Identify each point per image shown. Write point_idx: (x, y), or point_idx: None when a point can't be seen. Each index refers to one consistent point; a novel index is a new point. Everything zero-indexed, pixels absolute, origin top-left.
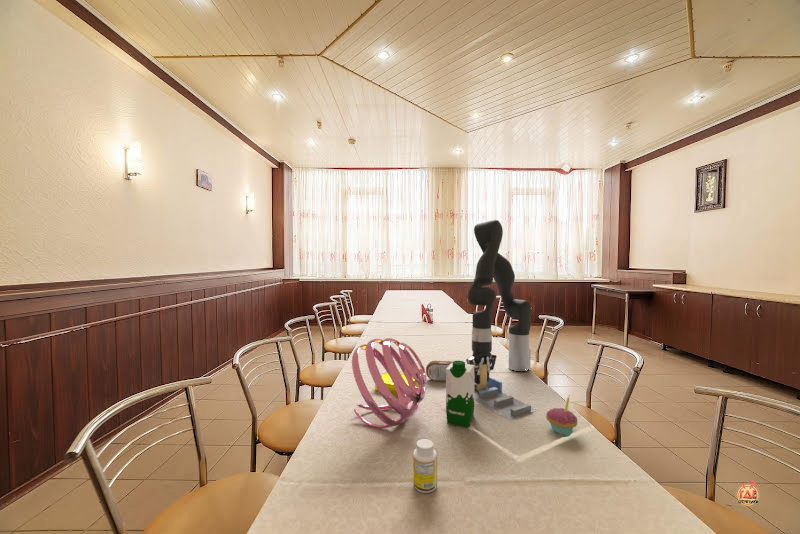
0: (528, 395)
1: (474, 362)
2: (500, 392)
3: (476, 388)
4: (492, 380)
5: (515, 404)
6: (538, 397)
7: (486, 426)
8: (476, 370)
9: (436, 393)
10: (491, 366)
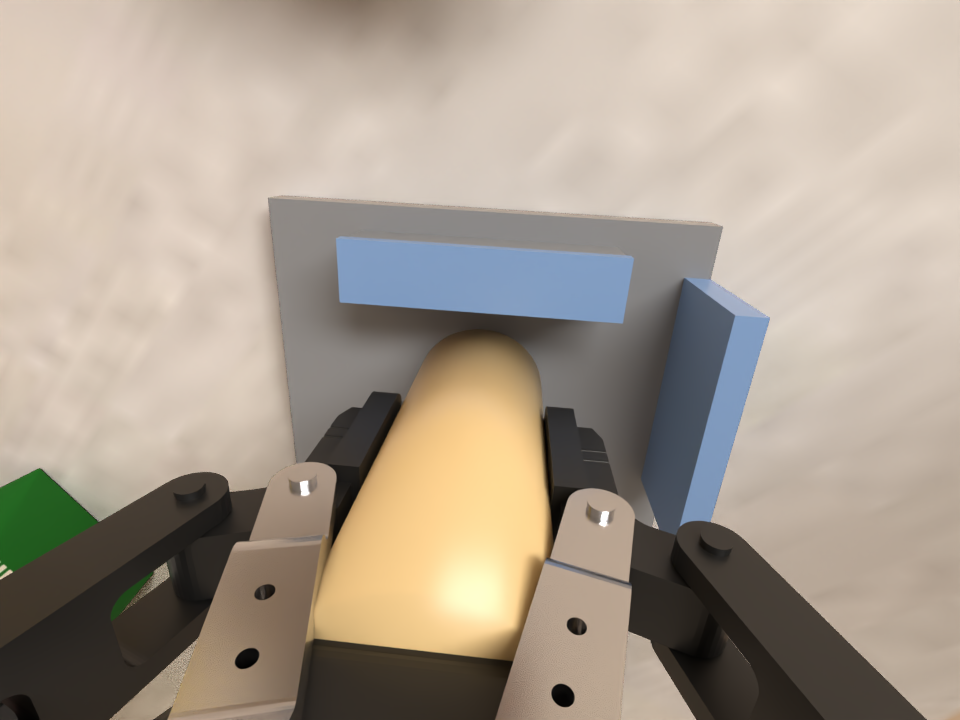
0: (838, 589)
1: (209, 648)
2: (642, 481)
3: (424, 360)
4: (696, 426)
5: None
6: (857, 646)
7: (180, 659)
8: (355, 502)
9: (36, 25)
10: (681, 681)
